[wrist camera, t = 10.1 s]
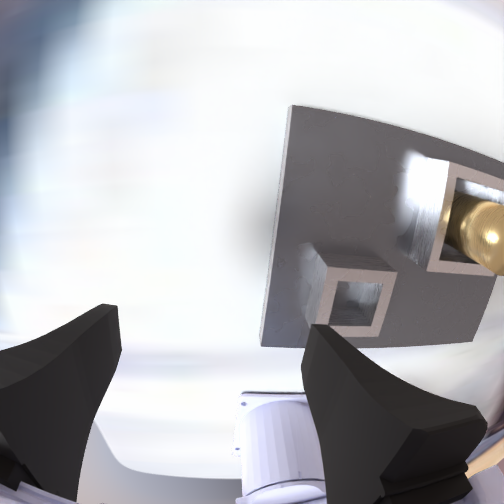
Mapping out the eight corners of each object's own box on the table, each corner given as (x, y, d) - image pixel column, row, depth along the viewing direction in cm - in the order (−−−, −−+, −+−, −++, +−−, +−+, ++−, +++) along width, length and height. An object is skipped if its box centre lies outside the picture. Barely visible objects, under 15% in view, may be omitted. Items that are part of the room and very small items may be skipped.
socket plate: (464, 333, 25) (486, 355, 21) (259, 334, 24) (263, 368, 20) (509, 167, 20) (540, 175, 16) (288, 107, 18) (301, 99, 15)
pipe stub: (469, 245, 20) (520, 274, 15) (430, 244, 20) (481, 276, 14) (477, 194, 19) (533, 212, 13) (438, 188, 19) (495, 206, 13)
